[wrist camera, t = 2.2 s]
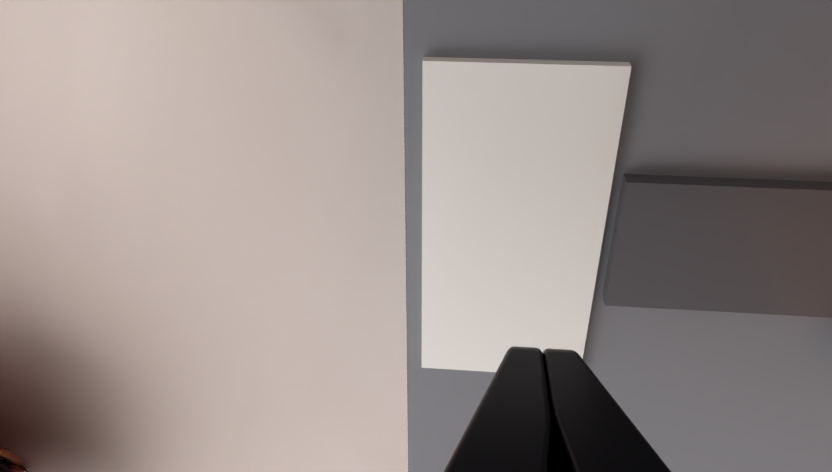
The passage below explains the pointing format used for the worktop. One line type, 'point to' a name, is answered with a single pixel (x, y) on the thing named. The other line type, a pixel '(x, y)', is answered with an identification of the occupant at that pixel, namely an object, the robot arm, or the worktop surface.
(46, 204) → the worktop surface
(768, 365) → the panel
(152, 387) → the worktop surface
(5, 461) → the dragon fruit
